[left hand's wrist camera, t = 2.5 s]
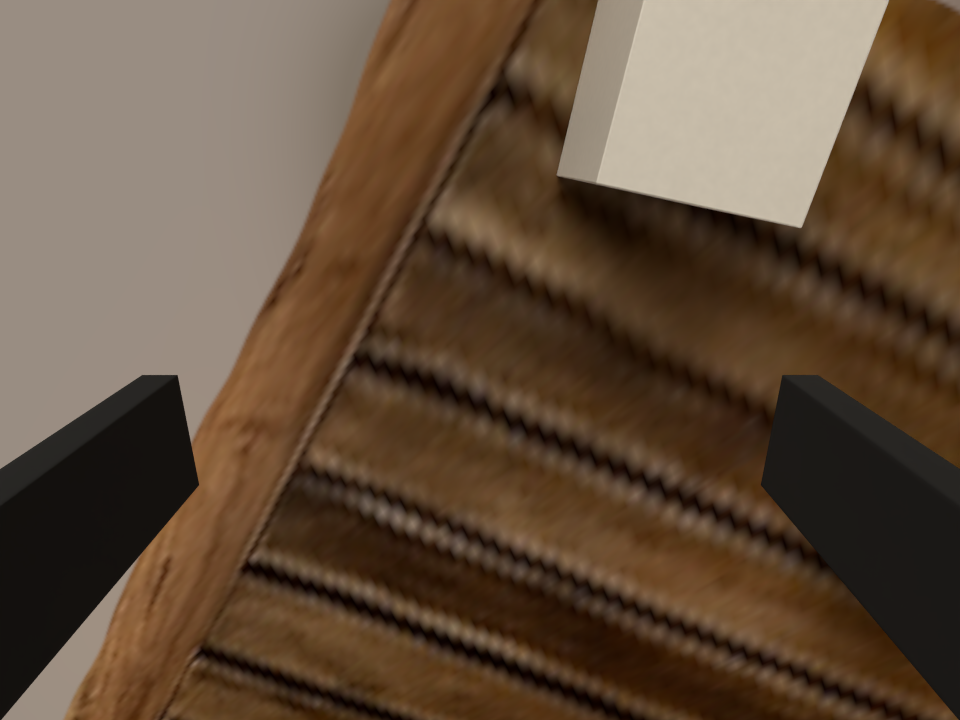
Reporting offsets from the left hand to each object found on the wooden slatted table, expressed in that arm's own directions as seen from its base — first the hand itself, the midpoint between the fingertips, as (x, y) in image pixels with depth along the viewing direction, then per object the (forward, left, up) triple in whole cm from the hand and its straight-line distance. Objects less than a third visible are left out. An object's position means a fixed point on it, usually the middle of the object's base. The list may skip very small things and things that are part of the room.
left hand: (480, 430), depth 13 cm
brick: (-4, -11, -20) cm, 23 cm away
